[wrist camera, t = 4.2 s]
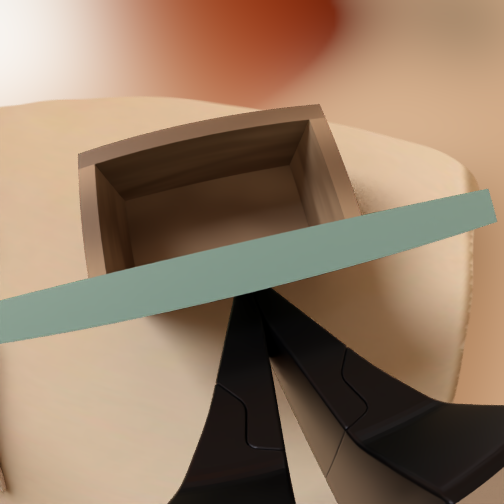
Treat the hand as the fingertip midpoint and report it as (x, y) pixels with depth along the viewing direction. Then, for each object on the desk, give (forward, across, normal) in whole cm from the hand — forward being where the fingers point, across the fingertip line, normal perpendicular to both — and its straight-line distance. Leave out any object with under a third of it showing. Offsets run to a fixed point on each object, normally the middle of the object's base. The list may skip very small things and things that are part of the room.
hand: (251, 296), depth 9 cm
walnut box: (+13, 0, +5) cm, 14 cm away
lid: (+2, 0, 0) cm, 2 cm away
